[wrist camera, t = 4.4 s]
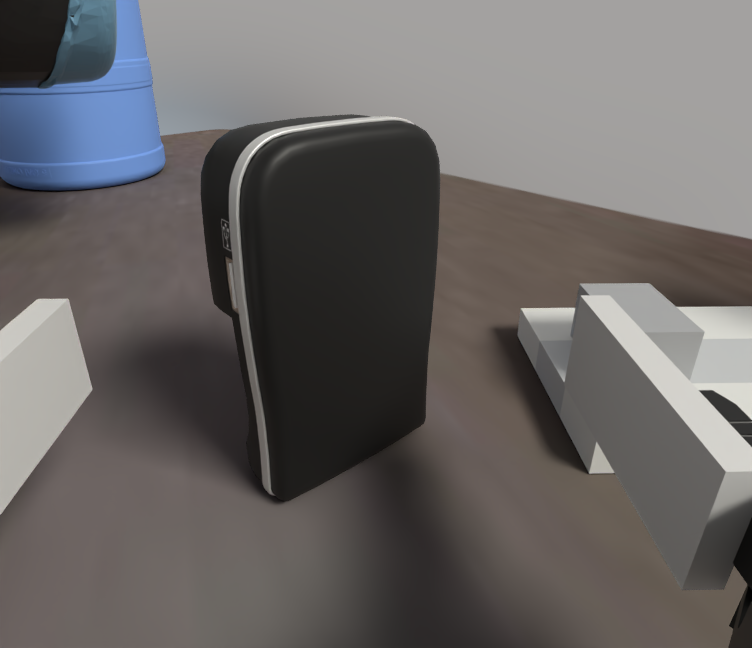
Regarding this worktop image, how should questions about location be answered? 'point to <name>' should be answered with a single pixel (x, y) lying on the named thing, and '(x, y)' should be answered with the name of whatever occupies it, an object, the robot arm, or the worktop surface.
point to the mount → (665, 328)
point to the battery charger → (325, 285)
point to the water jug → (86, 123)
